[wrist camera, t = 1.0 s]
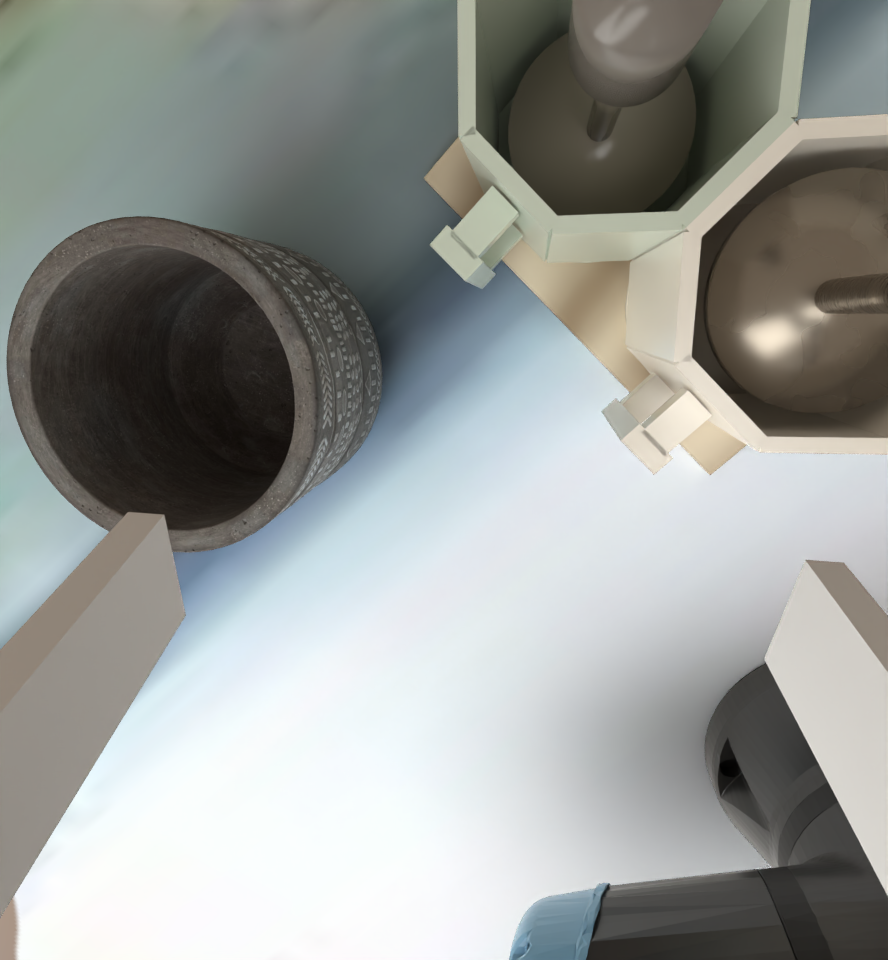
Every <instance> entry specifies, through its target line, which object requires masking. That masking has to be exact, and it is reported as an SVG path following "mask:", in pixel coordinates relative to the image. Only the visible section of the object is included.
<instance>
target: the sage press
mask: <svg viewBox="0 0 888 960" xmlns="http://www.w3.org/2000/svg"><path fill="white" fill-rule="evenodd" d="M810 3H811V0H457V15H458V136H459V138H460V141H461V143H462V145H463V148H464V150H465V152H466V154H467V157H468V159H469V161H470V163H471V166H472V168H473V170H474V172H475V175H476V177H477V179H478V181H479V184H480V186H481V188H482V190H483V193H484V196H483V197H482V198H481V199H480V200H479V201H478V202H477V203H476V205H475V206H474V207H473V208H472V209H471V210H470V211H469V212H468V214H467V215H466V216H465V217H464V218H463V219H462V220H461V221H460V223H459V224H458V225H457V226H456V227H455V228H454V229H453V230H452V229H451V228H450V227H449V226H448V225H447V226H446V227H445V228H444V229H443V230H442V231H441V232H440V233H439V235H438V236H437V237H436V238H435V239H434V240H433V241H432V243H431V244H430V246H431V247H432V248H433V249H434V250H435V251H436V252H437V253H438V254H439V255H440V256H441V257H442V258H443V259H444V260H445V261H446V262H447V263H448V264H449V265H450V266H451V267H452V268H453V269H454V270H455V271H456V272H457V273H458V274H459V275H460V276H461V277H462V278H463V279H464V281H466V282H468V283H470V284H472V285H474V286H477V287H479V288H481V289H483V288H484V287H485V286H486V285H487V284H488V282H489V281H490V280H491V279H492V278H493V277H494V276H495V275H496V274H495V273H494V272H493V271H492V270H493V269H494V267H495V266H496V265H497V264H498V263H499V262H500V261H501V260H502V259H503V258H504V257H505V256H506V255H507V254H508V252H509V251H510V250H511V249H512V248H513V247H514V246H515V245H516V244H517V243H518V242H519V241H520V240H521V239H522V240H523V241H524V242H525V243H526V244H528V245H529V246H530V247H531V249H532V250H533V251H534V252H535V253H536V254H537V255H538V256H539V257H540V258H541V259H542V260H543V261H544V262H545V261H546V260H547V263H564V262H572V263H593V262H601V261H629V260H631V259H633V258H635V257H636V256H638V255H640V254H642V253H643V252H645V251H647V250H649V249H650V248H652V247H654V246H655V245H657V244H659V243H661V242H662V241H664V240H666V239H668V238H669V237H671V236H673V235H674V234H676V233H678V232H680V231H681V230H683V229H685V228H686V227H687V226H688V225H689V224H690V223H691V222H692V221H693V220H695V219H696V218H697V217H698V216H699V215H700V214H701V213H702V212H703V211H704V210H705V209H706V208H707V207H708V206H709V205H710V204H711V203H712V202H713V201H714V200H715V199H716V198H717V197H718V196H719V195H720V194H721V193H722V192H723V191H724V190H725V189H726V188H727V187H728V186H729V185H730V184H731V183H732V182H733V181H734V180H735V179H736V178H737V177H738V176H739V175H740V174H742V173H743V172H744V171H745V170H746V169H747V168H748V167H749V166H750V165H751V164H752V163H753V162H754V161H755V160H756V159H757V158H758V157H759V156H760V155H761V154H762V153H763V152H764V151H765V150H766V149H767V148H768V147H769V146H770V145H771V144H772V143H773V142H774V141H775V140H776V139H777V138H778V137H779V136H780V135H781V134H782V133H783V132H784V131H785V130H786V129H787V128H789V127H790V126H791V125H792V124H793V123H794V122H795V121H794V119H795V118H796V117H797V114H798V106H799V97H800V89H801V80H802V72H803V63H804V55H805V46H806V37H807V29H808V20H809V12H810Z"/></svg>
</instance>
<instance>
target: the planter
mask: <svg viewBox="0 0 888 960" xmlns="http://www.w3.org/2000/svg"><path fill="white" fill-rule="evenodd" d="M7 377H8V386H9V392H10V397H11V401H12V406H13V409H14V413H15V416H16V419H17V422H18V424H19V427H20V430H21V432H22V435H23V437H24V439H25V441H26V443H27V445H28V447H29V449H30V451H31V453H32V455H33V457H34V458H35V460H36V462H37V463H38V465H39V466H40V468H41V469H42V471H43V472H44V474H45V475H46V476H47V478H48V479H49V480H50V482H51V483H52V484H53V485H54V486H55V488H56V489H57V490H58V491H59V492H60V493H61V494H62V495H63V496H64V497H65V498H66V499H67V500H68V501H69V502H70V503H71V504H72V505H73V506H74V507H75V508H76V509H77V510H79V511H80V512H81V513H82V514H84V515H85V516H86V517H87V518H89V519H90V520H92V521H93V522H95V523H96V524H98V525H99V526H101V527H102V528H104V529H106V530H108V531H109V532H110V531H111V530H112V529H113V528H114V527H115V526H116V525H117V523H118V522H119V521H120V520H121V519H122V518H123V517H124V516H125V515H126V514H127V513H128V512H134V513H148V514H162V515H164V516H165V520H166V525H167V530H168V534H169V539H170V544H171V549H172V552H201V551H207V550H213V549H217V548H222V547H225V546H228V545H231V544H234V543H236V542H238V541H241V540H243V539H245V538H246V537H248V536H250V535H252V534H254V533H255V532H257V531H258V530H260V529H261V528H262V527H264V526H265V525H266V524H268V523H269V522H270V521H271V520H273V519H274V518H275V517H276V516H278V515H279V514H281V513H282V512H283V511H285V510H286V509H287V508H289V507H290V506H291V505H293V504H294V503H295V502H297V501H298V500H299V499H300V498H302V497H303V496H304V495H306V494H307V493H308V492H309V491H311V490H312V489H313V488H314V487H316V486H317V485H319V484H320V483H322V482H323V481H325V480H326V479H328V478H329V477H330V476H331V475H333V474H334V473H335V472H336V471H338V470H339V469H340V468H341V467H342V466H343V465H344V464H345V463H346V462H347V461H348V460H350V459H351V457H352V456H353V455H354V454H355V453H356V452H357V451H358V449H359V448H360V447H361V445H362V444H363V442H364V441H365V439H366V438H367V436H368V434H369V432H370V430H371V428H372V426H373V423H374V421H375V418H376V415H377V412H378V408H379V404H380V399H381V391H382V363H381V356H380V351H379V346H378V342H377V339H376V336H375V333H374V330H373V328H372V325H371V323H370V321H369V318H368V316H367V315H366V313H365V311H364V309H363V307H362V306H361V304H360V303H359V301H358V300H357V298H356V297H355V296H354V295H353V293H352V292H351V291H350V289H349V288H348V287H347V286H346V285H345V284H344V283H343V282H342V281H341V280H340V279H339V278H338V277H337V276H336V275H335V274H333V273H332V272H331V271H330V270H329V269H327V268H326V267H324V266H323V265H321V264H320V263H318V262H317V261H315V260H313V259H311V258H309V257H307V256H305V255H303V254H301V253H298V252H296V251H293V250H290V249H288V248H284V247H281V246H278V245H274V244H271V243H266V242H261V241H256V240H251V239H247V238H244V237H241V236H237V235H234V234H230V233H226V232H222V231H218V230H213V229H208V228H203V227H199V226H195V225H192V224H188V223H184V222H180V221H175V220H170V219H165V218H156V217H141V216H137V217H123V218H117V219H111V220H107V221H103V222H100V223H96V224H94V225H91V226H88V227H86V228H84V229H82V230H80V231H78V232H76V233H74V234H73V235H71V236H69V237H68V238H66V239H65V240H64V241H62V242H61V243H60V244H59V245H57V246H56V247H55V248H54V249H53V250H52V251H51V252H50V253H48V255H47V256H46V257H45V258H44V259H43V260H42V261H41V262H40V264H39V265H38V266H37V268H36V269H35V270H34V272H33V273H32V275H31V277H30V278H29V280H28V281H27V283H26V285H25V287H24V289H23V291H22V293H21V295H20V298H19V300H18V303H17V305H16V308H15V311H14V314H13V318H12V322H11V326H10V330H9V337H8V345H7Z"/></svg>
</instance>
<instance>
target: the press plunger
mask: <svg viewBox="0 0 888 960" xmlns="http://www.w3.org/2000/svg"><path fill="white" fill-rule="evenodd" d="M703 316H704V325H705V331H706V335H707V339H708V343H709V345H710V347H711V350H712V352H713V355H714V356H715V358H716V360H717V362H718V363H719V365H720V367H721V368H722V369H723V370H724V372H725V373H726V374H727V375H728V377H729V378H730V379H731V380H732V381H733V382H735V383H736V384H737V385H738V386H739V387H740V388H741V389H743V390H744V391H746V392H747V393H749V394H750V395H752V396H754V397H756V398H758V399H760V400H762V401H764V402H766V403H769V404H772V405H775V406H778V407H781V408H784V409H787V410H792V411H797V412H805V413H831V412H838V411H843V410H849V409H852V408H856V407H859V406H863V405H865V404H868V403H870V402H873V401H875V400H877V399H880V398H882V397H883V396H885V395H887V394H888V172H887V171H883V170H877V169H871V168H843V169H834V170H830V171H825V172H821V173H817V174H814V175H811V176H808V177H806V178H803V179H800V180H798V181H796V182H794V183H792V184H790V185H788V186H786V187H784V188H782V189H780V190H779V191H777V192H775V193H773V194H772V195H770V196H769V197H767V198H766V199H764V200H763V201H761V202H760V203H758V204H757V205H756V206H755V207H754V208H753V209H751V210H750V211H749V212H748V213H747V214H746V215H745V216H744V217H743V218H742V219H741V220H740V221H739V222H738V223H737V224H736V225H735V227H734V228H733V229H732V231H731V232H730V233H729V235H728V236H727V237H726V239H725V240H724V242H723V244H722V245H721V247H720V249H719V251H718V252H717V254H716V257H715V259H714V261H713V264H712V266H711V268H710V272H709V275H708V279H707V282H706V287H705V293H704V304H703Z"/></svg>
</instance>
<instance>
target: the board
mask: <svg viewBox="0 0 888 960" xmlns="http://www.w3.org/2000/svg"><path fill="white" fill-rule="evenodd" d="M424 179H425V180H426V182H427V183H428V184H429V185H430V186H431V187H432V188H433V189H434V190H435V191H436V192H437V193H438V194H439V195H440V196H441V197H442V198H443V199H444V200H445V201H446V202H447V204H448V205H449V206H450V207H451V208H452V209H453V210H454V211H455V212H456V213H457V214H458V215H459V216H460V217H461V218H462V219H463V218H464V217H465V216H466V215H467V214H468V212H469V211H470V210H471V209H472V208H473V207H474V206H475V205H476V203H477V202H478V201H479V200H480V199H481V198H482V197H483V196H484V193H483V190H482V188H481V186H480V184H479V181H478V179H477V177H476V175H475V172H474V170H473V168H472V166H471V163H470V161H469V159H468V157H467V154H466V152H465V150H464V148H463V145H462V143H461V141H460V138H459V137H458V138H457V139H456V140H455V141H454V143H453V144H452V145H451V146H450V147H449V149H448V150H447V151H446V152H445V153H444V154H443V156H442V157H441V158H440V159H439V160H438V162H437V163H436V164H435V165H434V166H433V168H432V169H431V170H430V171H429V172H428V173H427V175H426V176H425V177H424ZM502 261H503V262H504V263H505V264H506V265H507V266H508V267H509V268H510V269H511V270H512V271H513V272H514V273H515V274H516V275H517V276H518V277H519V278H520V279H521V280H522V281H523V282H524V283H525V284H526V285H527V286H528V287H529V288H530V290H531V291H532V292H533V293H534V294H535V295H536V296H537V297H538V298H539V299H540V300H541V301H542V302H543V303H544V304H545V305H546V306H547V307H548V308H549V309H550V310H551V311H552V312H553V313H554V314H555V315H556V316H557V317H558V319H559V320H560V321H561V322H562V323H563V324H564V325H565V326H566V327H567V328H568V329H569V330H570V331H571V332H572V333H573V334H574V335H575V336H576V337H577V338H578V339H579V340H580V341H581V342H582V343H583V344H584V345H585V346H586V348H587V349H588V350H589V351H590V352H591V353H592V354H593V355H594V356H595V357H596V358H597V359H598V360H599V361H600V362H601V363H602V364H603V365H604V366H605V367H606V368H607V369H608V370H609V371H610V372H611V373H612V374H613V375H614V377H615V378H616V379H617V380H618V381H619V382H620V383H621V384H622V385H623V386H624V387H625V388H626V389H627V390H628V391H629V392H631V391H633V390H634V389H635V388H636V387H637V386H638V385H639V384H640V383H641V382H642V381H643V380H645V379H646V378H647V377H648V376H649V375H650V373H649V372H648V371H647V370H646V368H645V367H644V366H643V365H642V363H641V362H640V361H639V360H638V359H637V358H636V357H635V356H634V355H633V354H632V353H631V352H630V351H629V350H628V349H627V348H626V347H627V345H625V339H626V319H625V302H626V294H627V288H628V284H629V270H630V262H631V261H632V260H629V261H601V262H593V263H572V262H564V263H547V260H546V261H545V262H544V261H543V260H542V259H541V258H540V257H539V256H538V255H537V254H536V253H535V252H534V251H533V250H532V249H531V247H530V246H529V245H528V244H526V243H525V242H524V241H523V240H522V239H521V240H520V241H519V242H518V243H517V244H516V245H515V246H514V247H513V248H512V249H511V250H510V251H509V252H508V254H507V255H506V256H505V257H504V258H503V259H502ZM672 397H673V396H672ZM667 401H668V400H667ZM667 401H666V402H667ZM666 402H665V403H666ZM665 403H664V404H665ZM664 404H663V405H664ZM658 409H659V408H658ZM658 409H657V410H658ZM657 410H656V411H657ZM656 411H655V412H656ZM655 412H654V413H655ZM680 445H681V446H682V447H683V448H684V449H685V450H686V451H687V452H688V453H689V454H690V455H691V456H692V457H693V458H694V459H695V460H696V461H697V462H698V464H699V465H700V466H701V467H702V468H703V469H704V470H705V471H706V472H707V473H708V474H710V475H711V474H712V473H714V472H715V471H716V470H717V469H718V468H720V467H721V466H722V465H723V464H724V463H726V462H727V461H728V460H729V459H731V458H732V457H733V456H734V455H735V454H737V453H738V452H739V451H740V450H741V449H743V448H744V447H745V446H746V444H744V443H743V442H741V441H740V440H738V439H736V438H735V437H733V436H732V435H730V434H728V433H727V432H725V431H724V430H722V429H720V428H719V427H717V426H716V425H714V424H712V423H711V422H709V421H708V420H706V421H705V422H704V423H703V424H702V425H700V426H699V427H698V428H697V429H696V430H695V431H693V432H692V433H691V434H690V435H689V436H688V437H687V438H685V439H684V440H683V441H682V442H681V443H680Z"/></svg>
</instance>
